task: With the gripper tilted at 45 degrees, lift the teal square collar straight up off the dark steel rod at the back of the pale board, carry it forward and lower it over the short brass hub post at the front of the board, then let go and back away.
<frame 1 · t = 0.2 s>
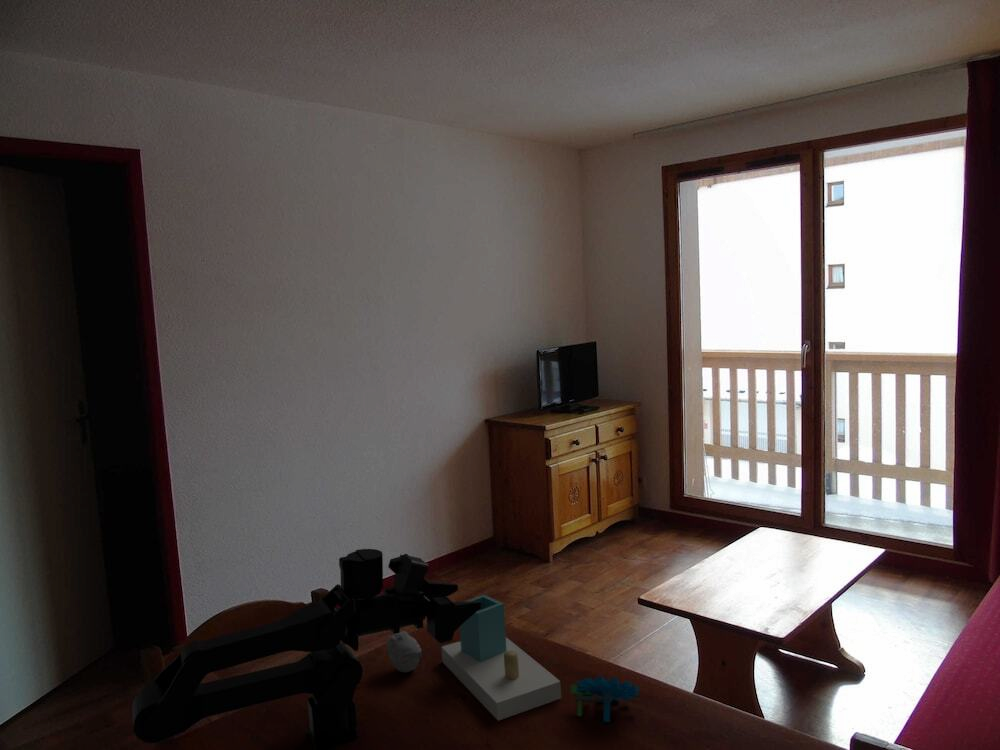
hand: (468, 595, 124), 17 cm above the table, tool horizontal, fingers open, 9 cm apart
board: (498, 679, 128), on the table
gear: (605, 712, 116), on the table
grey rounded lump: (405, 671, 133), on the table
collar: (483, 650, 132), point 3 cm above the table, touching board
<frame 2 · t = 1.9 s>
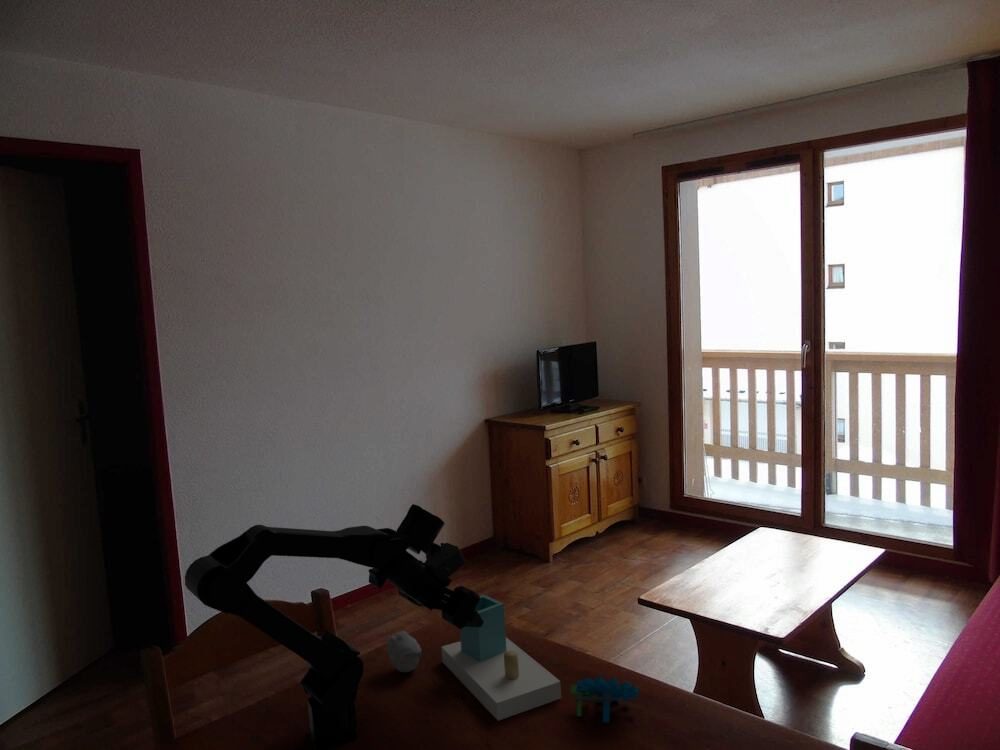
hand: (466, 616, 129), 11 cm above the table, tool tilted 45°, fingers open, 9 cm apart
nothing on the table moved.
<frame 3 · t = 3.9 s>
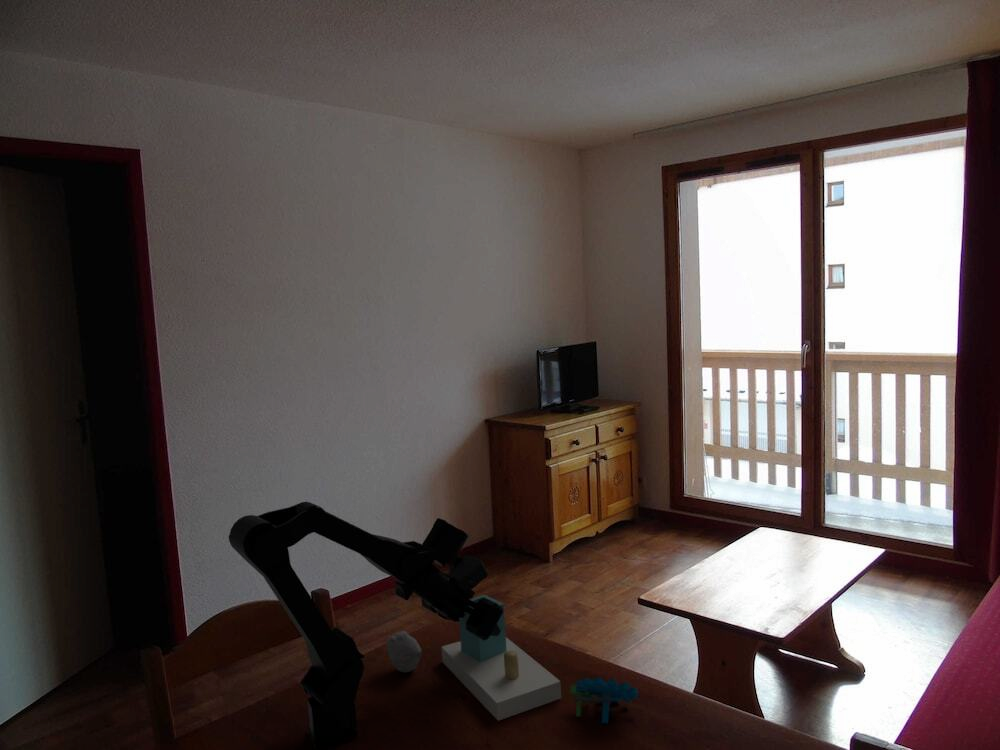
hand: (488, 627, 133), 7 cm above the table, tool tilted 45°, fingers closed on collar, 6 cm apart
collar: (483, 650, 132), point 3 cm above the table, touching board, gripper
everything else where it was.
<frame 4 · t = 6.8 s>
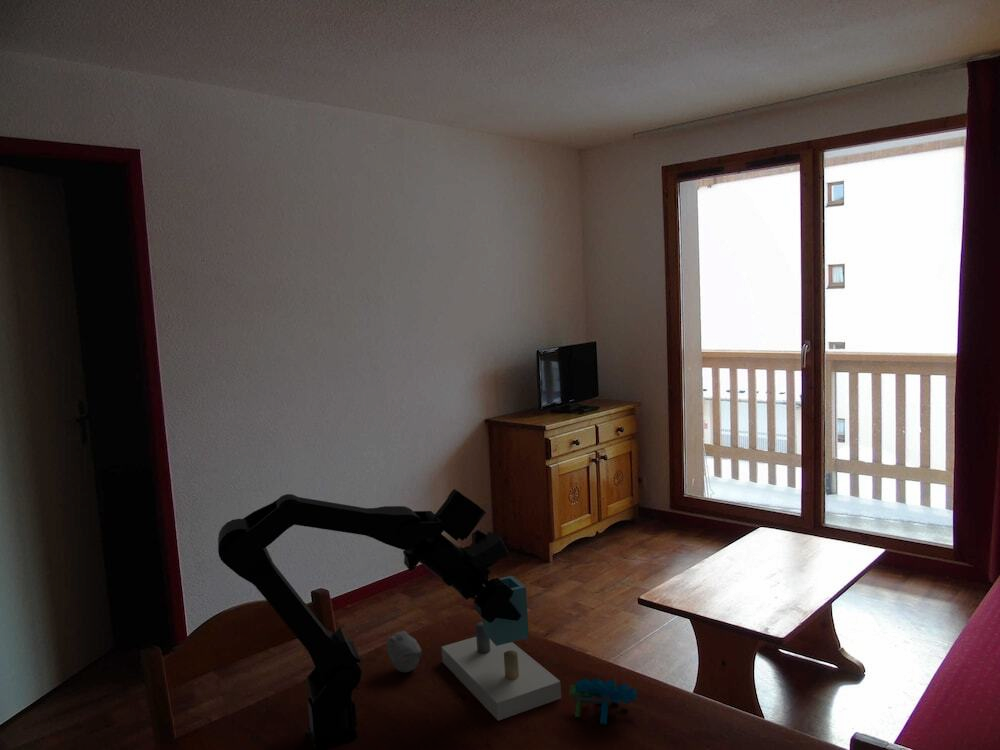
hand: (511, 611, 124), 13 cm above the table, tool tilted 45°, fingers closed on collar, 6 cm apart
collar: (505, 634, 124), point 10 cm above the table, touching gripper
everything else where it was.
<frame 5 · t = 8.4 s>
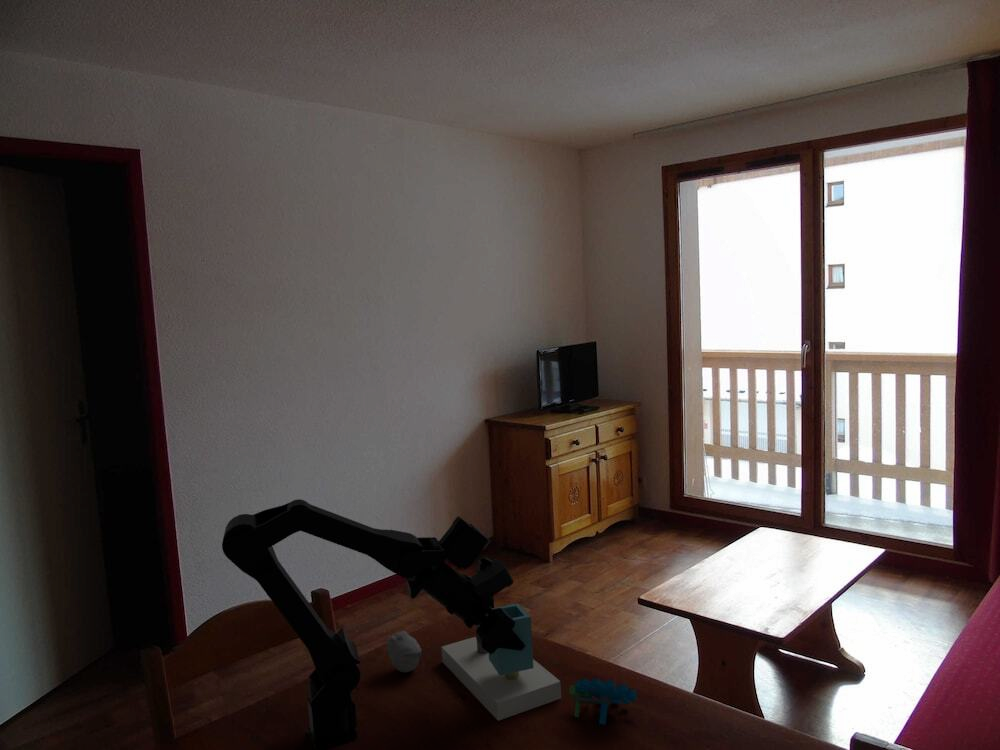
hand: (517, 639, 122), 9 cm above the table, tool tilted 45°, fingers closed on collar, 6 cm apart
collar: (510, 663, 122), point 5 cm above the table, touching gripper
everything else where it was.
when the fingers open (8 cm above the table, at t = 9.6 s): collar drops 1 cm, resting on board.
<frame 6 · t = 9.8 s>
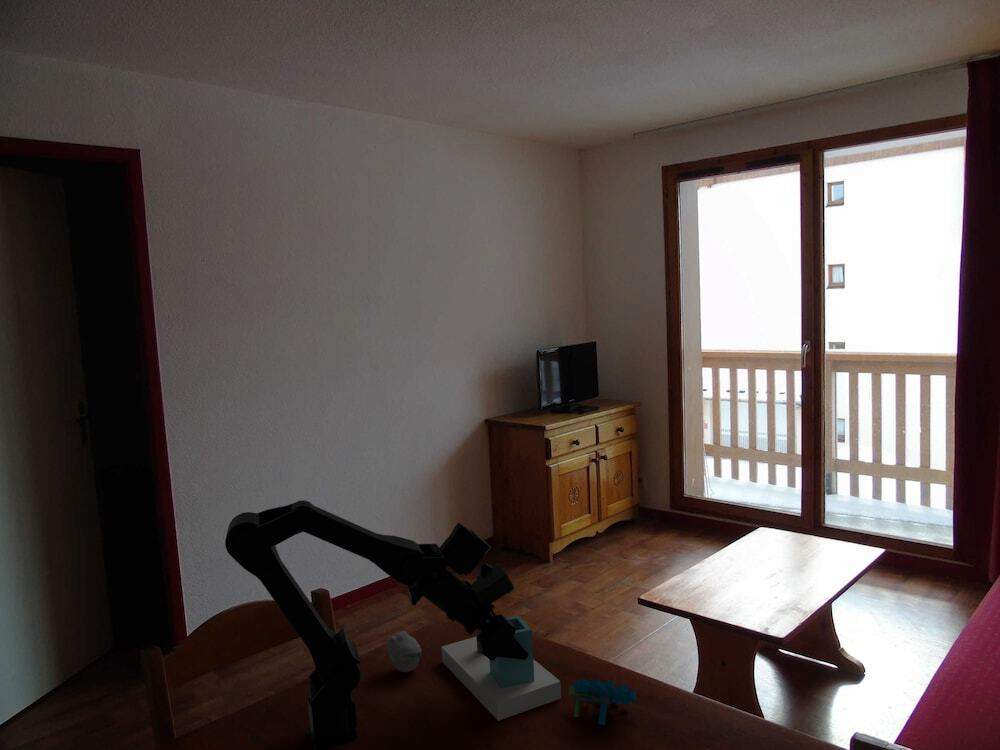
hand: (517, 645, 122), 8 cm above the table, tool tilted 45°, fingers open, 8 cm apart
collar: (511, 676, 122), point 3 cm above the table, touching board
everything else where it was.
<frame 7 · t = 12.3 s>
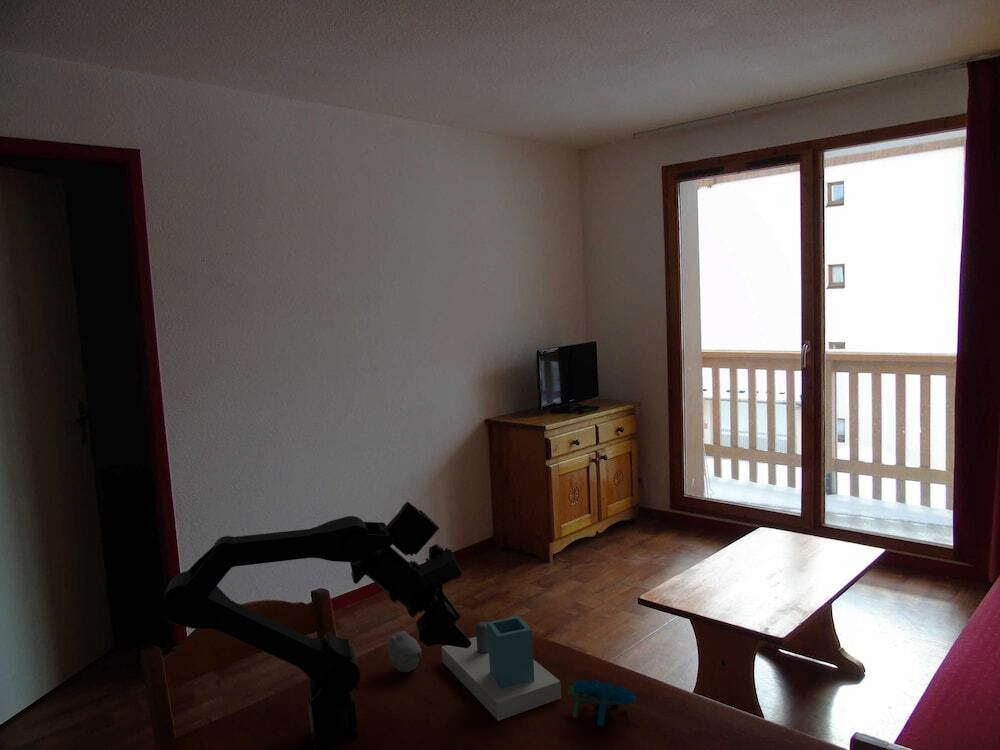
hand: (463, 631, 119), 13 cm above the table, tool tilted 40°, fingers open, 9 cm apart
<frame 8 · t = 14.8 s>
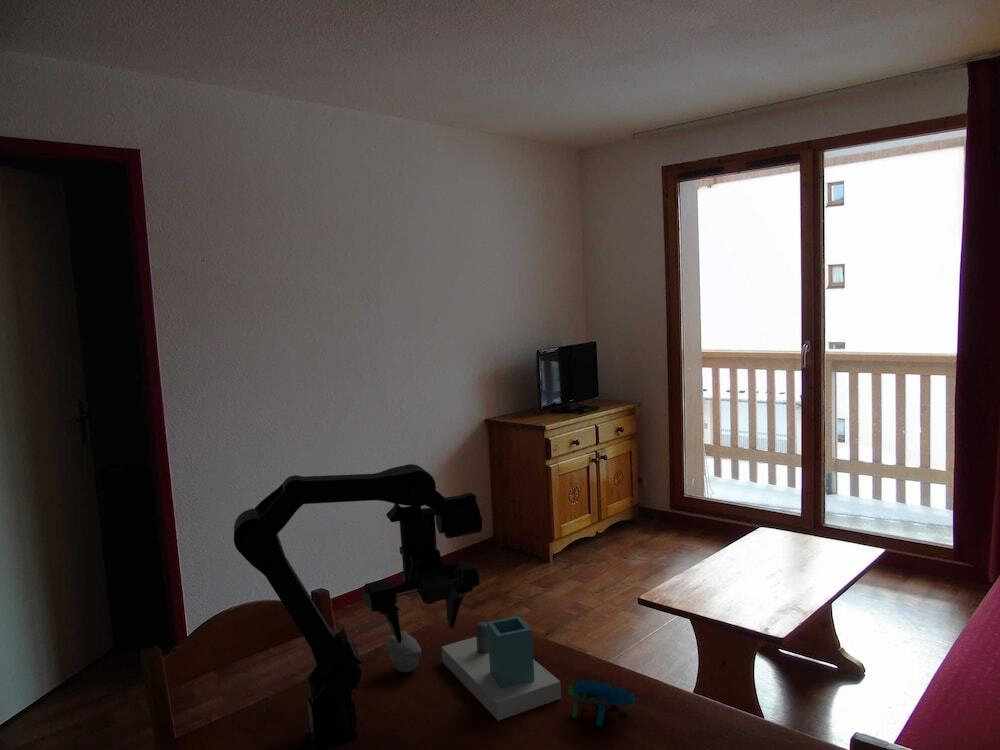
hand: (425, 634, 118), 13 cm above the table, tool pointing down, fingers open, 9 cm apart
at the end: collar 0.0 cm from the target spot on the board, point 3.0 cm above the board's base; collar tilted 0°; the gripper is holding nothing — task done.
